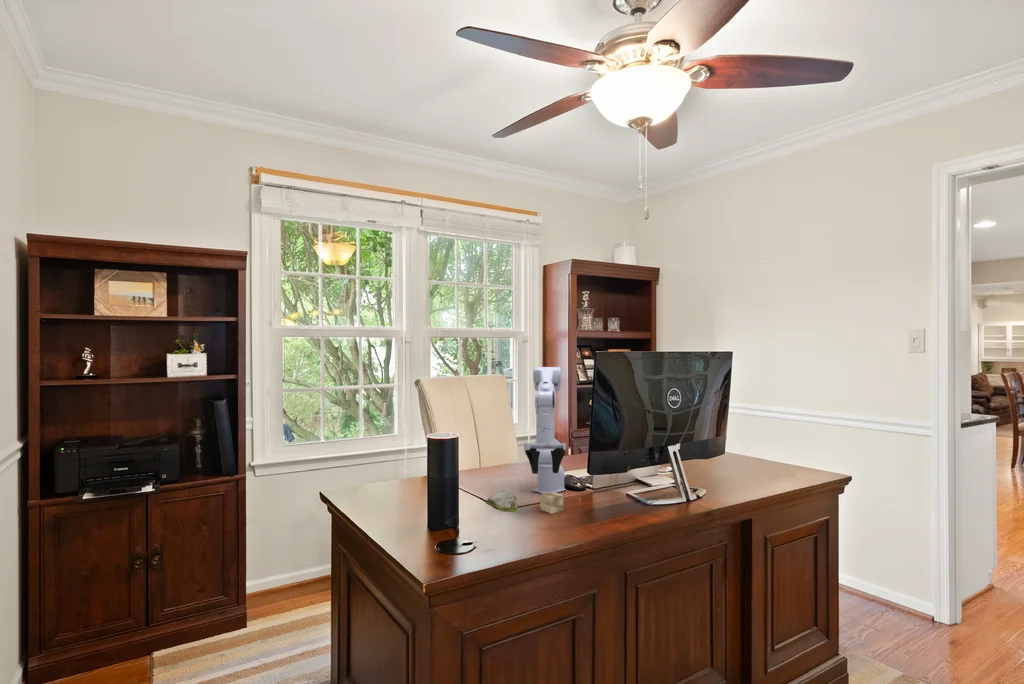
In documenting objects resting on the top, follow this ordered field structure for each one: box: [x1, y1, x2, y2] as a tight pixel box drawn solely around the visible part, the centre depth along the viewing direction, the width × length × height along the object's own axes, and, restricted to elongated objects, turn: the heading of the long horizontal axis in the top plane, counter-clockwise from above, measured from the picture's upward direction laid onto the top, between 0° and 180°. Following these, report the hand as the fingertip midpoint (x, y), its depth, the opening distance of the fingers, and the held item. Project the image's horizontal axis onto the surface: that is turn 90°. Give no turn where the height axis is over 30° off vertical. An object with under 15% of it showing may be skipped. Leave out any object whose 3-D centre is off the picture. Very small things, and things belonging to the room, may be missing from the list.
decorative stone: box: [486, 489, 519, 513], centre depth 186 cm, size 23×10×4 cm, turn 6°
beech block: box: [539, 492, 564, 515], centre depth 176 cm, size 5×5×5 cm
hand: (545, 473), depth 176 cm, fingers open, 7 cm apart
